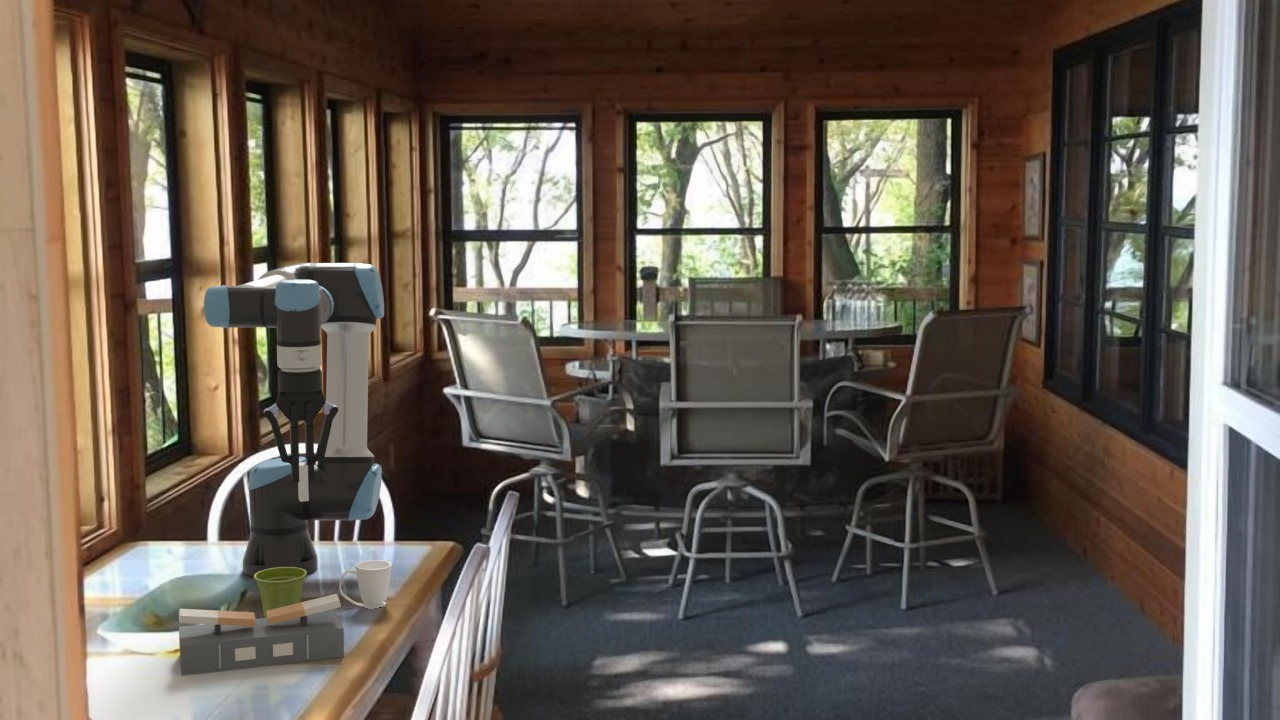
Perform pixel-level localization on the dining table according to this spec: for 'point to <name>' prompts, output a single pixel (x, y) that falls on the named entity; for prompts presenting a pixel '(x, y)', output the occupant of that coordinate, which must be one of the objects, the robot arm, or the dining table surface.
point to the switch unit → (260, 643)
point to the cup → (371, 582)
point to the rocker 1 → (217, 617)
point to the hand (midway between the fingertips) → (303, 499)
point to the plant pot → (280, 586)
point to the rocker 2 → (303, 609)
